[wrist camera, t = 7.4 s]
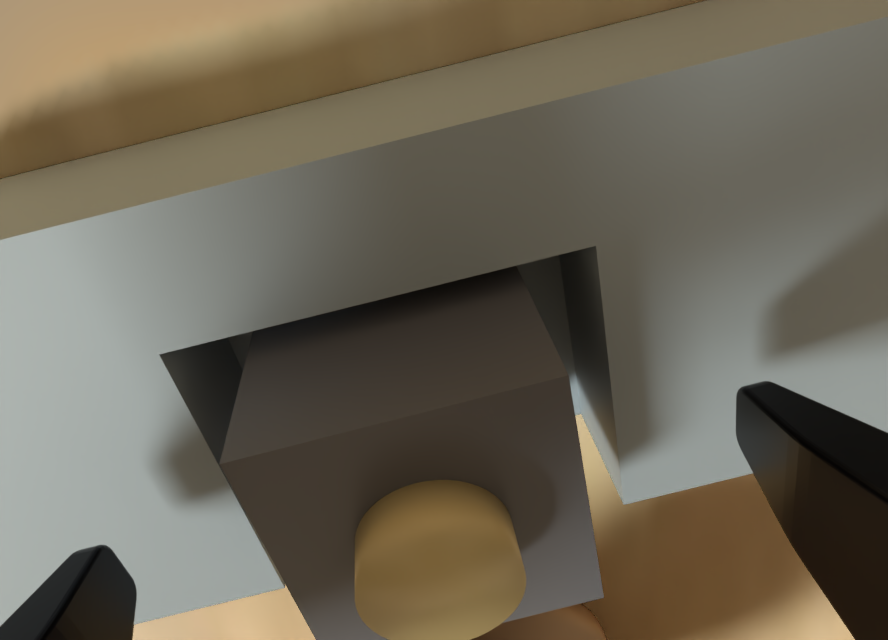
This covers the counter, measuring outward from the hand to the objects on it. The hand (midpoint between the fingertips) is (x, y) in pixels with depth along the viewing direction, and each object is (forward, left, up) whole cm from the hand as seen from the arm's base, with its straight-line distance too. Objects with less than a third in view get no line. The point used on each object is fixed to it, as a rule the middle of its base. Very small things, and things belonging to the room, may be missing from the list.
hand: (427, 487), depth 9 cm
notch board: (0, -1, -4) cm, 5 cm away
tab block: (0, 0, -4) cm, 4 cm away
